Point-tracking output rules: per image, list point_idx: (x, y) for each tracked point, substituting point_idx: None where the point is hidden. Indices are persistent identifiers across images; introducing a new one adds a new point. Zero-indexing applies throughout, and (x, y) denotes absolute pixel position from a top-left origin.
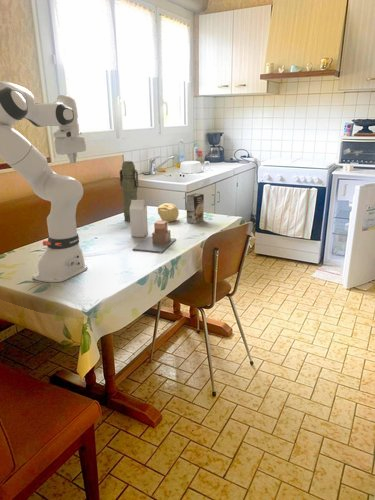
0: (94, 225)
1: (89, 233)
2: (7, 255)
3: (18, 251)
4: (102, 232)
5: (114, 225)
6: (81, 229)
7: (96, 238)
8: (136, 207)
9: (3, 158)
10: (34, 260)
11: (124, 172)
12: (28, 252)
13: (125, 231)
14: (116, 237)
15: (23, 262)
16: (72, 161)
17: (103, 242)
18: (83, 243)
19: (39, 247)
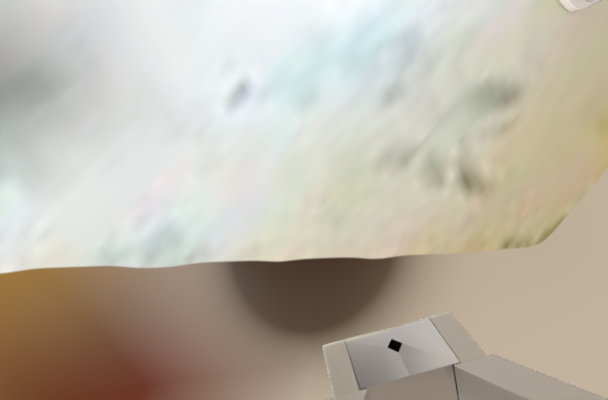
0: (101, 249)
1: (206, 174)
2: (544, 230)
3: (501, 233)
4: (159, 132)
5: (35, 166)
6: (183, 251)
7: (243, 89)
8: None
9: None
10: (552, 103)
11: None
12: (496, 194)
13: (74, 37)
14: (178, 9)
15: (579, 121)
16: (460, 334)
17: (269, 13)
18: (325, 88)
19: (439, 206)
